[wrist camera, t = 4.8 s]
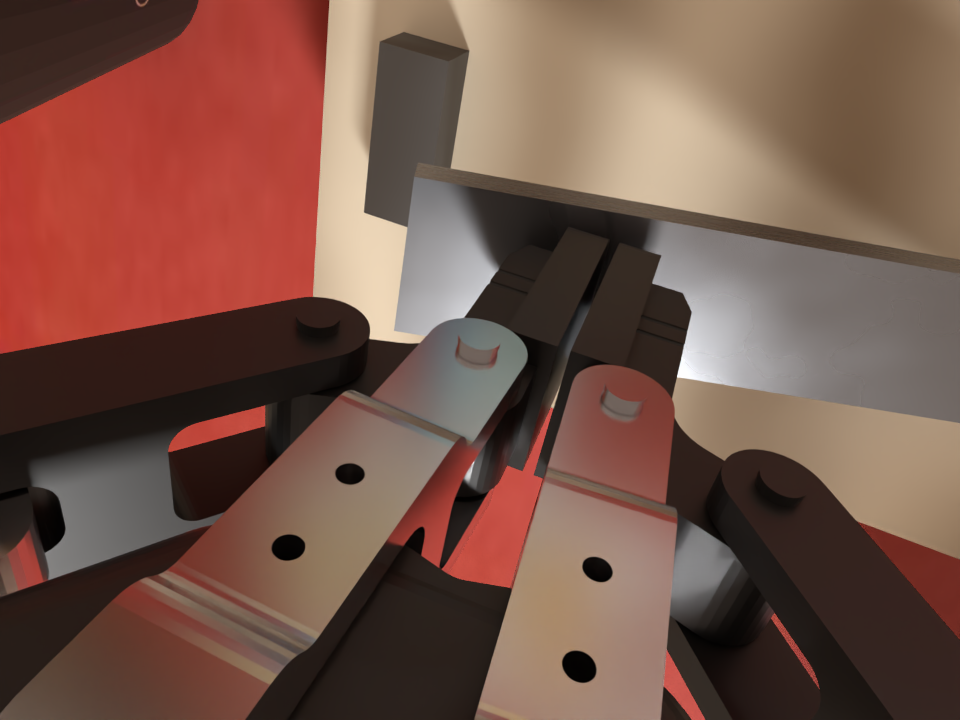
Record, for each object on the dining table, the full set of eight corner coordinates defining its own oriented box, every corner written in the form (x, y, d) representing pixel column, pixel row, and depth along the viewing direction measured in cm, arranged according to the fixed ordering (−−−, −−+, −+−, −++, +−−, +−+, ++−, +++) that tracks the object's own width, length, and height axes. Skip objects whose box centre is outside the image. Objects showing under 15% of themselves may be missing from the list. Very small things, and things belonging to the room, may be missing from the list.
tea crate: (1571, 31, 15) (2080, 142, 9) (1135, 491, 23) (1251, 722, 17) (456, -210, 20) (292, -245, 14) (399, 240, 27) (277, 348, 21)
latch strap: (1296, 320, 14) (1324, 338, 14) (1180, 441, 16) (1201, 462, 15) (417, 162, 13) (414, 176, 12) (398, 313, 15) (394, 330, 14)
